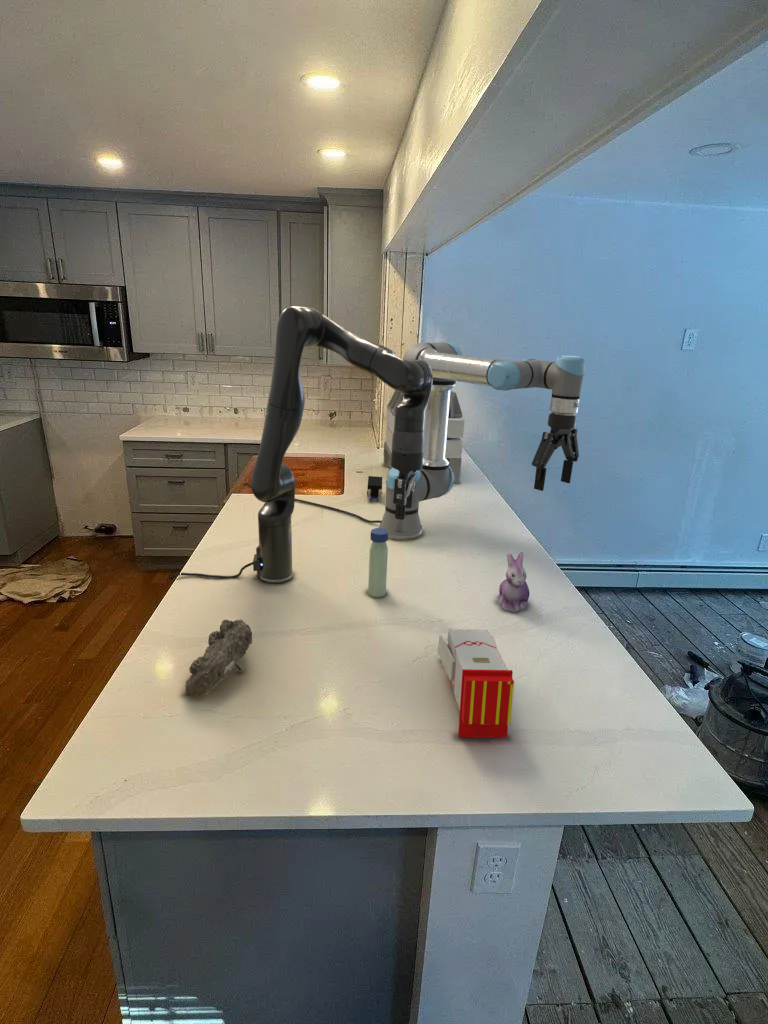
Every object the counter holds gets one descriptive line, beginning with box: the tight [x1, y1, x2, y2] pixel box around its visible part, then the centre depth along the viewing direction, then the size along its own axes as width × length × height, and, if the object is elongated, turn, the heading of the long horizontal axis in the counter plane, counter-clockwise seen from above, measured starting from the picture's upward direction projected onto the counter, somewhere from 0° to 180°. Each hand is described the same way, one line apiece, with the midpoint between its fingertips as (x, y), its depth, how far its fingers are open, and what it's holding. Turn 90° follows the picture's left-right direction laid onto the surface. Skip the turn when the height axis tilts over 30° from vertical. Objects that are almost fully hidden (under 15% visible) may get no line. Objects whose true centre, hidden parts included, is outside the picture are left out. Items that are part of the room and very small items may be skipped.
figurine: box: [497, 551, 530, 612], centre depth 152 cm, size 9×10×15 cm
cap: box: [370, 527, 389, 543], centre depth 152 cm, size 5×5×2 cm
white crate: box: [383, 390, 465, 484], centre depth 268 cm, size 34×33×41 cm
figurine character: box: [366, 475, 383, 502], centre depth 235 cm, size 7×8×15 cm
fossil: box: [184, 619, 253, 697], centre depth 121 cm, size 22×10×15 cm
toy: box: [437, 628, 515, 738], centre depth 117 cm, size 12×13×30 cm
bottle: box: [367, 541, 389, 598], centre depth 155 cm, size 5×5×18 cm
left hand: (403, 513), depth 138 cm, fingers open, 8 cm apart
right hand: (552, 485), depth 166 cm, fingers open, 13 cm apart
